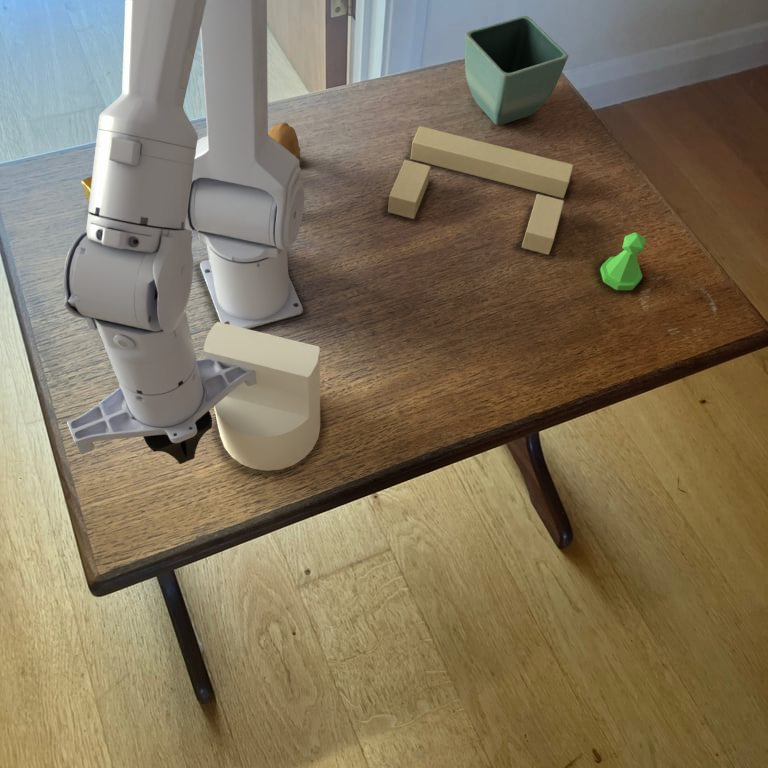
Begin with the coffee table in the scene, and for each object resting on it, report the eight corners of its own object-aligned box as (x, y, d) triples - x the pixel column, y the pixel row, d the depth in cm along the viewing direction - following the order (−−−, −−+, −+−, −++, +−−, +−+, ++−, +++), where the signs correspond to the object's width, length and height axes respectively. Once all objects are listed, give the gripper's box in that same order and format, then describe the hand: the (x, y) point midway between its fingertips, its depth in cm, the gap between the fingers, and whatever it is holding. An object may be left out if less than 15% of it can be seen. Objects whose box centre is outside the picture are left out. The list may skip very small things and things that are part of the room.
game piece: (636, 296, 85) (656, 257, 80) (596, 284, 86) (613, 245, 81) (643, 266, 87) (662, 227, 82) (603, 255, 88) (620, 215, 83)
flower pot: (453, 97, 101) (463, 31, 93) (512, 79, 103) (527, 13, 96) (490, 141, 97) (504, 76, 89) (552, 121, 99) (570, 56, 92)
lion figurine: (305, 244, 86) (303, 180, 79) (254, 245, 86) (247, 180, 78) (302, 148, 94) (300, 82, 87) (255, 149, 94) (249, 81, 86)
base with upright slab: (332, 397, 76) (333, 318, 66) (303, 481, 71) (299, 410, 61) (239, 374, 77) (227, 292, 67) (204, 456, 72) (185, 381, 62)
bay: (548, 255, 87) (554, 239, 85) (387, 212, 89) (389, 195, 87) (568, 181, 94) (573, 164, 92) (417, 142, 96) (419, 125, 94)
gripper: (71, 446, 54) (115, 527, 66) (271, 365, 59) (280, 454, 70) (40, 367, 58) (87, 458, 69) (232, 296, 62) (247, 392, 73)
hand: (182, 452), depth 70 cm, fingers closed
